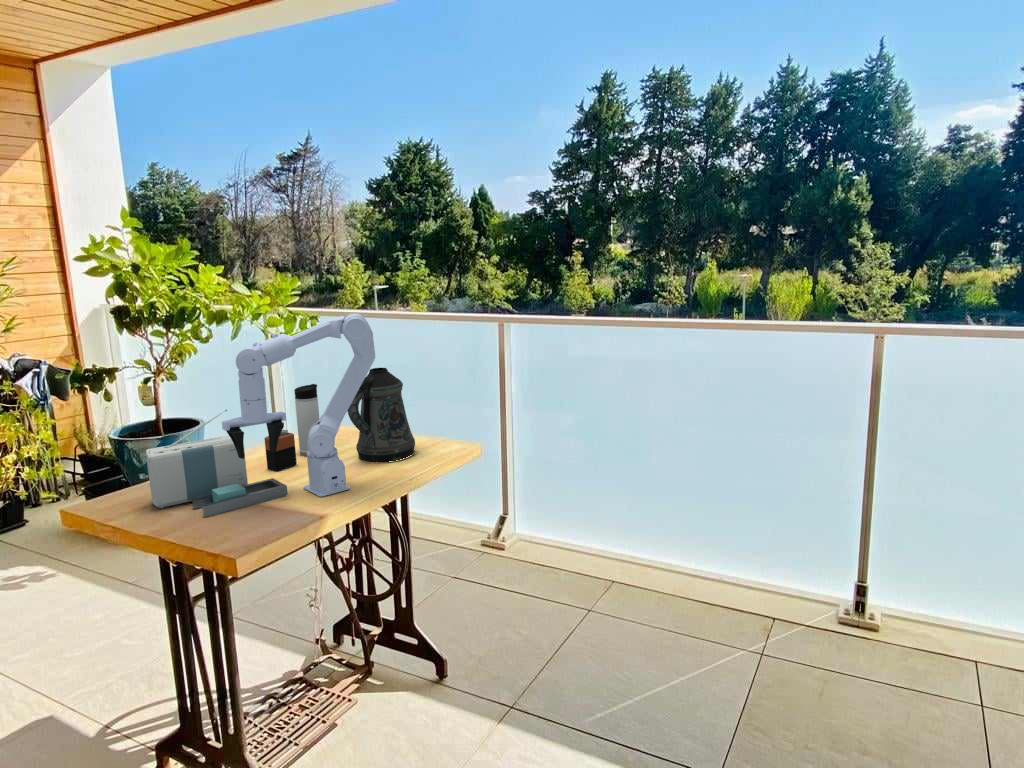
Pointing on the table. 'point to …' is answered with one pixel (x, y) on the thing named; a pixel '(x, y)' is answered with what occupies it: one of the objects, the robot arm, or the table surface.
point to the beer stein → (381, 419)
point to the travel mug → (306, 413)
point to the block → (227, 492)
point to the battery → (281, 452)
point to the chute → (241, 497)
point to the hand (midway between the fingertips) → (257, 454)
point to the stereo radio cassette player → (193, 469)
